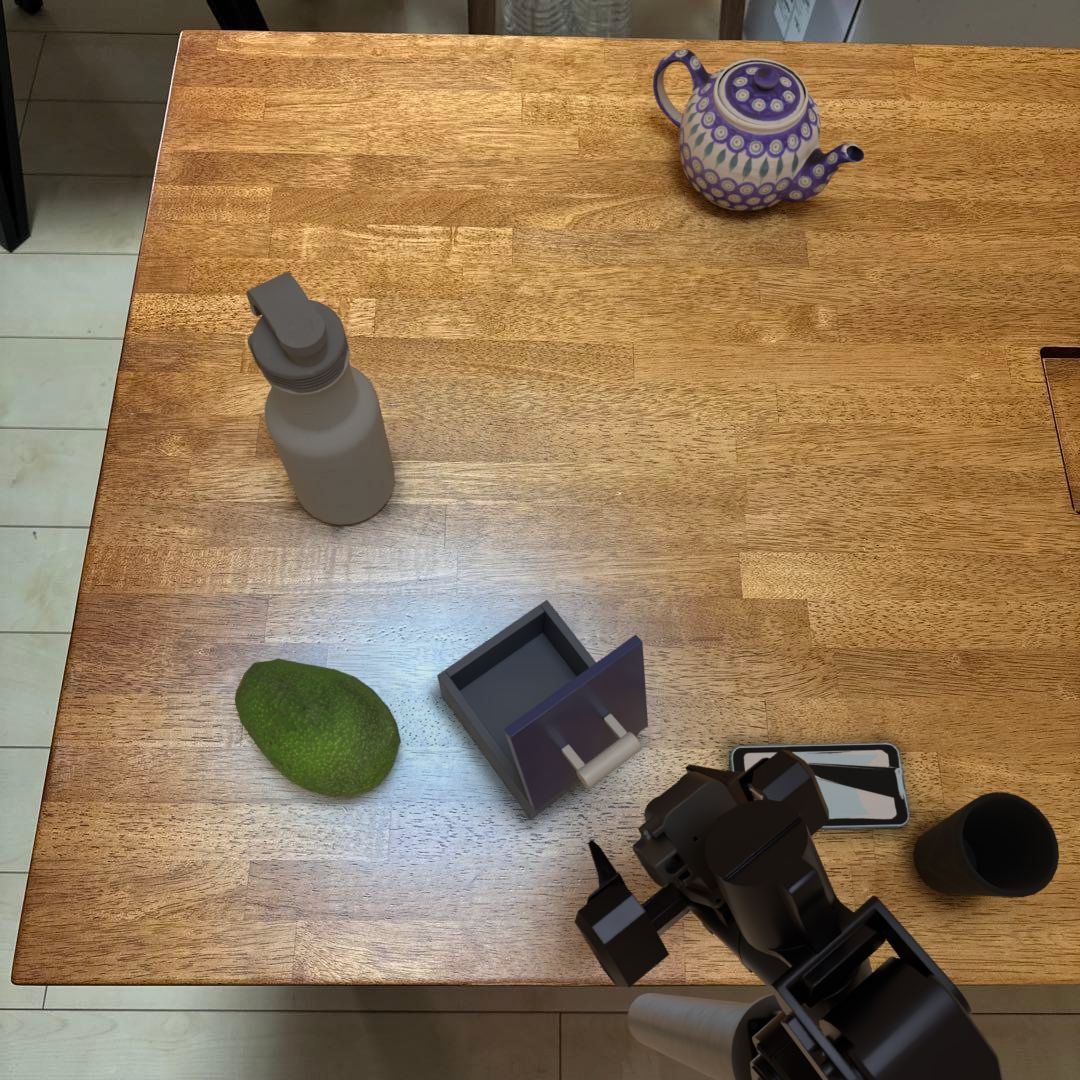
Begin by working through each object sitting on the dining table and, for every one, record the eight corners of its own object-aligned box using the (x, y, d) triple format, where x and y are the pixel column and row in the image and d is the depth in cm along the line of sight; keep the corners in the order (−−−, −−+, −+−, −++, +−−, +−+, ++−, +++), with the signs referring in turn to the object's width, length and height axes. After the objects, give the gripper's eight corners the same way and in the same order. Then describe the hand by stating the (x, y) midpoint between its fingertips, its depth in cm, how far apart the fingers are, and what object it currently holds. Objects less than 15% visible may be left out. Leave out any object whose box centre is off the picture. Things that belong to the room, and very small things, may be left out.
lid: (503, 729, 70) (541, 777, 67) (635, 633, 73) (676, 677, 70) (529, 803, 81) (562, 846, 79) (642, 719, 84) (676, 758, 82)
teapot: (610, 161, 117) (623, 52, 104) (687, 86, 122) (710, -27, 109) (791, 276, 112) (831, 177, 98) (865, 193, 117) (912, 88, 103)
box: (441, 695, 92) (436, 675, 86) (544, 624, 95) (546, 599, 89) (530, 820, 88) (532, 808, 82) (635, 741, 91) (644, 723, 85)
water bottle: (276, 465, 101) (197, 289, 75) (363, 420, 103) (315, 234, 77) (325, 545, 97) (259, 390, 72) (414, 497, 100) (381, 329, 74)
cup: (888, 879, 87) (943, 865, 76) (917, 799, 90) (975, 774, 79) (974, 924, 86) (1043, 916, 75) (1001, 841, 88) (1072, 822, 77)
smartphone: (729, 745, 90) (897, 741, 90) (727, 747, 91) (894, 743, 91) (737, 831, 87) (911, 827, 87) (735, 832, 88) (908, 828, 88)
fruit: (222, 730, 90) (189, 702, 81) (295, 643, 94) (272, 606, 84) (354, 832, 87) (336, 815, 78) (426, 738, 90) (417, 711, 81)
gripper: (852, 743, 61) (701, 653, 74) (606, 943, 56) (492, 808, 69) (898, 867, 66) (748, 761, 79) (675, 1061, 61) (556, 913, 74)
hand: (641, 807), depth 75 cm, fingers open, 9 cm apart
